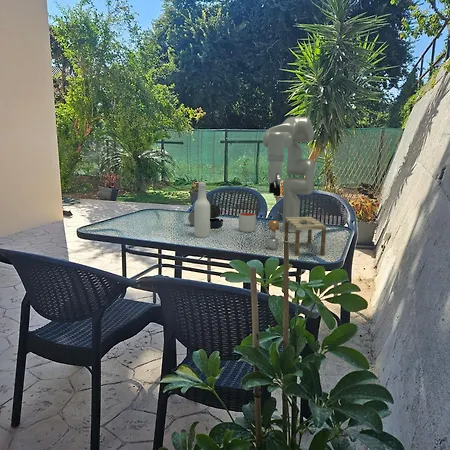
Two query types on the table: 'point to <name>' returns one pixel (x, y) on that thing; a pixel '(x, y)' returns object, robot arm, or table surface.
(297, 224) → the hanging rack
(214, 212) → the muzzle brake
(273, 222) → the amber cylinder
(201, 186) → the alcohol
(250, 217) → the cup
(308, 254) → the table surface
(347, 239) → the table surface
